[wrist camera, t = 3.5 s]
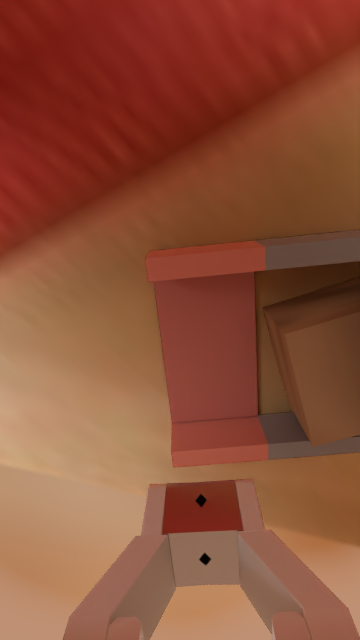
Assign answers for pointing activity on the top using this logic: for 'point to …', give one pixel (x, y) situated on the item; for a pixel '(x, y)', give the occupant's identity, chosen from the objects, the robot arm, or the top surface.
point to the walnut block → (320, 359)
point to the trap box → (230, 347)
